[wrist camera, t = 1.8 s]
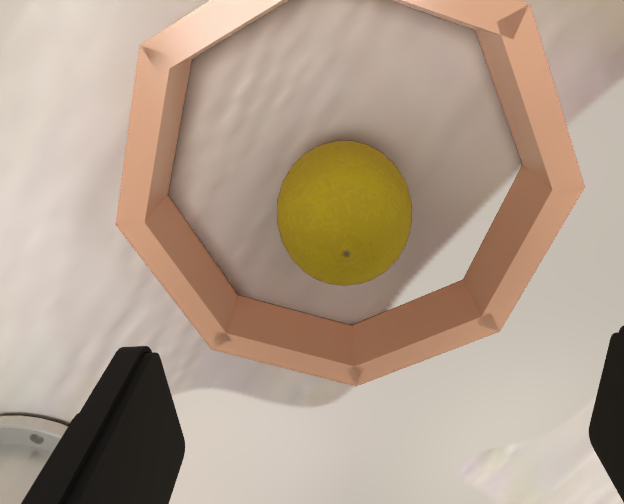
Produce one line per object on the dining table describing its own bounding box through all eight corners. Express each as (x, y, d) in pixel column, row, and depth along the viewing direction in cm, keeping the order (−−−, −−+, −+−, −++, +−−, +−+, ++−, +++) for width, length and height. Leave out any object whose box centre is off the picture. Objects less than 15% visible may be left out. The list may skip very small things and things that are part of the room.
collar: (439, 366, 29) (452, 410, 26) (128, 284, 27) (102, 321, 24) (614, 44, 21) (664, 52, 18) (189, -107, 19) (162, -129, 16)
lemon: (379, 105, 22) (405, 154, 15) (410, 212, 25) (444, 298, 18) (267, 145, 23) (241, 207, 16) (306, 244, 26) (298, 337, 19)
